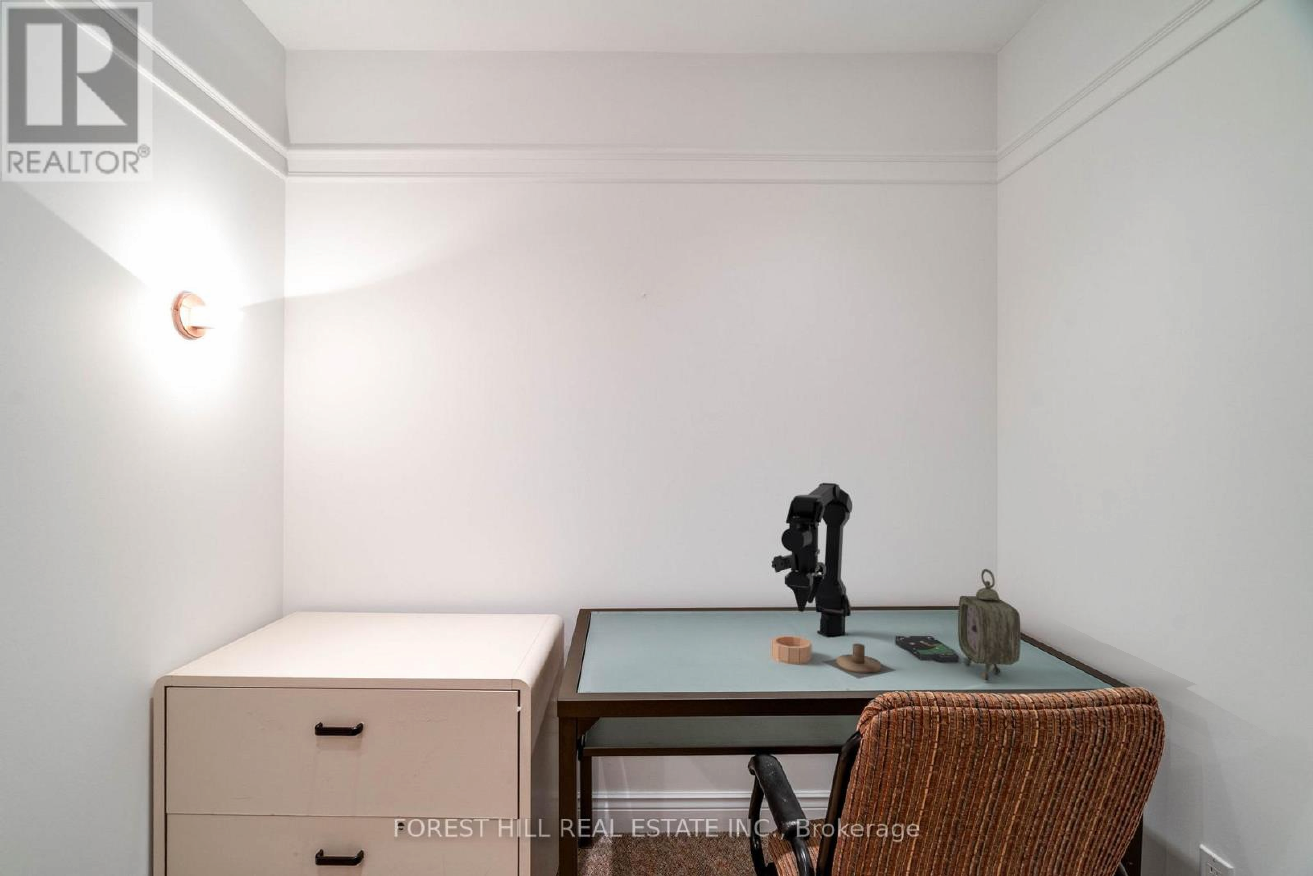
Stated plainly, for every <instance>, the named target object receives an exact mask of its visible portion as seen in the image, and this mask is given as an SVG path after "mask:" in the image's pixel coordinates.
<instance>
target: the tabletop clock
mask: <svg viewBox="0 0 1313 876" xmlns="http://www.w3.org/2000/svg"><path fill="white" fill-rule="evenodd" d="M985 573H988V574H989V575H990V577H991V581H992V582H990V581H989V580H986V581H985V577H984V574H985ZM981 582H982V583H983V585H984V586H985V587H983V588H980V589H978V590H977V592H976V594H975V596H974V595H972V596H970V595H961V596H959V600H958V610H957V611H958V613H957V615H958V616H957V629H958V630H957V634H958V635H957V637H958V645H959V648H960V650H961V652H963V654H964V655H965V656H966V658H965V659H964V664H965V665H967V666H970V665H971V664H972V662H973V663H974V664H979V665H980V664H981V665H983V664H984V665H985V672H984V673H983V674H982V675H981V679H982V680H983V681H987V682H988V681H989V680H990V676H989V675H988V674H989V671H990V668H991V667H992V666H994V667H993V668H992V672H993V673H994V674H995V675H999V674H1000V673H1001V669H1000V668H999V667H998V665H1003V666H1011V665H1013V664H1015V663H1017V662H1018V661H1019V660H1020V657H1021V656H1020V654H1021V617H1020V612H1019V611H1018V610H1017V609H1016V608H1015V607H1014V606H1012V604H1009V603H1008V602H1006V601H1004V600H1002V599H1000V596H999V594H998V592H997V590H995V589H993V588H994V587H995V583H996V580H995V575H994V573H993V572H992V571H991V570H989V569H988V568H984V569H983V570H982V571H981ZM991 583H992V584H991Z"/></svg>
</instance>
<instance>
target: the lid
mask: <svg viewBox="0 0 1313 876" xmlns="http://www.w3.org/2000/svg"><path fill="white" fill-rule="evenodd" d="M865 648H866V646H865V645H864V644H861V643H853V644H852V654H850V653H849V654H842V655H839V656H837V657H836V658H835V659H836V664H837V666H838V667H839V668H841V669H843V670H846V671H849V672H853V673H860V674H871V673H877V672H879V671H880V670H881V664H882V663H881V661H880V660H878V659H876V658H874V657H870V656H867V655H865V654H866V653H865V652H866V649H865Z"/></svg>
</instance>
